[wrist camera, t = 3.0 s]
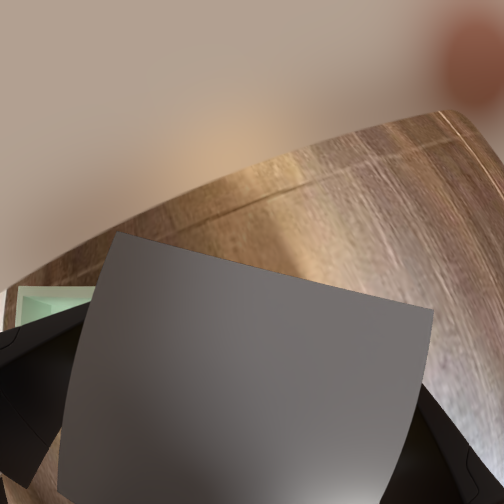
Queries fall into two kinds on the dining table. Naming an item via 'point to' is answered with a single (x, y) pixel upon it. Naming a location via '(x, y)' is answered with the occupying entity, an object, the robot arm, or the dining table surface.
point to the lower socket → (48, 301)
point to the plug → (235, 385)
